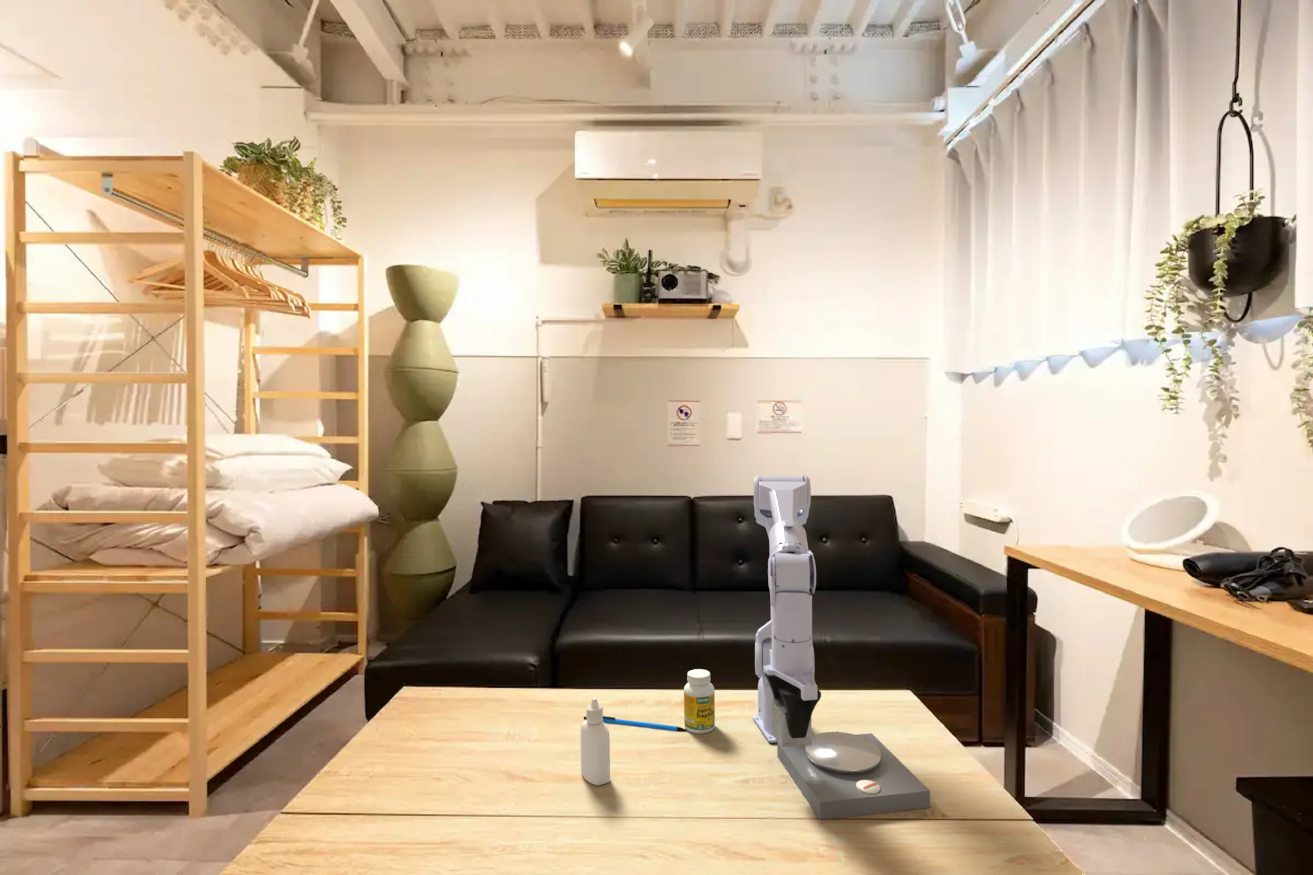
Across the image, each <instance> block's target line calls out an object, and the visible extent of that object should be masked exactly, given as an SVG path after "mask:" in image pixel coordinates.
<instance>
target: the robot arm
mask: <svg viewBox="0 0 1313 875" xmlns="http://www.w3.org/2000/svg"><path fill="white" fill-rule="evenodd" d="M811 489H812V488H811V479H810V477H809V476H808V475H806V474H803V475H760V474H756V476H754V478H753V507H754V518H756V519H755V522H756V523H757V524H759V525H760V526H762V527H764V528H765V529H766V532H767V533H766V534H767V537H768V540H769V541H768V542H769V546H768V547H769V557H768V560H767V561H768V562H767V566H768V567H767V575H768V576H767V577H768V581H767V582H768V588H769V594H770V595H769V596H770V620H769V621H767V622H766V623H765V624H764V625H763V626H760V628H758V629H757V631H756V633H755V643H754V667H755V668H754V669H755V675H756V676H757V677H758V678H759V680H758V684H757V699H758V700H757V714H755V715H753V716H752V719H753V721H754V722H755V724H756V725H757V726H758V728H759V729H760V731H761V732H762V734H763V736H764V737H765V739H766V740H767V742H769V744H770V743H771V744H774V743H777V742H778V741H777V740H776V738H775V737H774V735H773V734H772V699H783V702H784V705H785V709H786V713H787V721H788V729H789V733H790V736H791V738H793V739H794V738H805V737H806V734H807V730H808V726H809V722H810V718H811V719H812V715H813V712H814V710H815V708H816V705H817V704H818V703H819V701H820V700H821V699H822V692H821V690H819V688H818V685H817V684H816V681H815V651H814V650H815V649H814V645H813V594H815V590H816V586H817V568H816V560H815V557H814V554H813V552H812V550H810V549H809V545H808V539H807V533H806V530H805V528H804V526H803V525H806V524H807V519H808V518H809V515H810V514H809V512H810V508H811V502H812V501H811V500H812V498H811V497H812V495H811V494H812V493H811V492H812V490H811ZM810 589H811V592H810ZM767 639H771V640H767ZM813 735H814V734H813V731H811V737H812V736H813Z"/></svg>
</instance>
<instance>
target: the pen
mask: <svg viewBox="0 0 1313 875" xmlns="http://www.w3.org/2000/svg"><path fill="white" fill-rule="evenodd" d="M583 719H584V720H587V716H583ZM603 722H604V723H609V724H616V725H624V726H633V727H640V728H649V729H655V730H656V729H657V730H664V731H671V732H672V731H673V732H674V731H675V732H688V730H687V729H686V728H683V727H681V726H677V725H670V724H668V725H667V724H661V723H653V722H644V721H636V720H628V719H619V718H616V717H612V716H605V715H603Z"/></svg>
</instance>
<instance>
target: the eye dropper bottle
mask: <svg viewBox="0 0 1313 875" xmlns="http://www.w3.org/2000/svg"><path fill="white" fill-rule="evenodd" d="M603 712H604V711H603V706H602V705H601V704H599V703H598V698H597V697H592V698H591V703H590V705H588V706H587V707H586V717H587V719H585V720H584V721H582V723H581V724H580V772H581V775H582V777H583V778H584V780H585V781H587V782H588V783H589V784H591V785H594V786H598V787H599V786H602V785H604V784H607V783H609V782H610V780H611V753H610V752H611V747H610V746H611V745H610V743H611V742H610V731H609V729H608V726H607V725H606V722H603V716H604V713H603Z"/></svg>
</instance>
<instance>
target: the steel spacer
mask: <svg viewBox="0 0 1313 875" xmlns="http://www.w3.org/2000/svg"><path fill="white" fill-rule="evenodd" d="M811 732H812V717H811V718H810V722H809V726H808V730H807V734H806V737H805V738H794V739H793V738H791V736H790V733H789V729H788V721H787V713H786V709H785V705H784V702H783V699H772V734H773V735H774V737H775V738H776V740H777V741H778V743H779V744H780V745H781V747H792V746H803V745H811Z"/></svg>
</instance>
